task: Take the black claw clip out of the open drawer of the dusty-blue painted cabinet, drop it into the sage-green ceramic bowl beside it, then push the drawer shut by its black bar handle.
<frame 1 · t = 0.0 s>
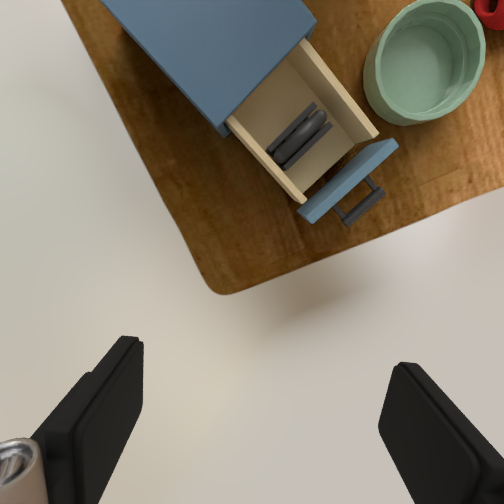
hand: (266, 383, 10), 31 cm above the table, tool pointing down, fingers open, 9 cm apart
clip: (293, 142, 36), point 2 cm above the table, touching drawer
bowl: (409, 74, 36), on the table
drawer: (312, 147, 34), point 4 cm above the table, slide at 13.5 cm, touching clip
cabinet: (212, 42, 35), on the table
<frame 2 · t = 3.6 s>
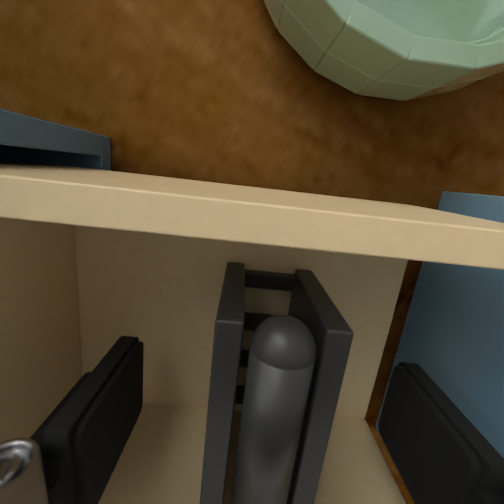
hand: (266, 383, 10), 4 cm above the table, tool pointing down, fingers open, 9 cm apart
clip: (259, 338, 12), point 2 cm above the table, touching drawer
drawer: (321, 359, 10), point 4 cm above the table, slide at 14.0 cm, touching clip, gripper
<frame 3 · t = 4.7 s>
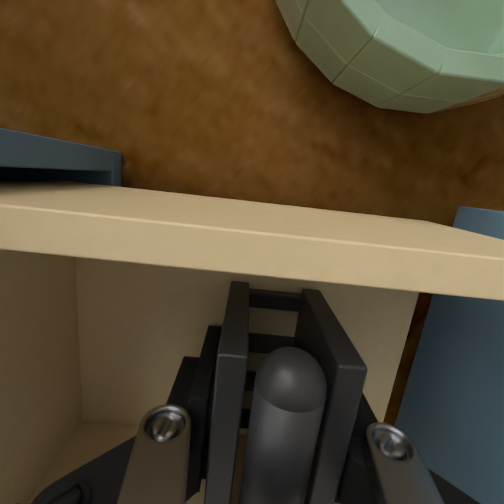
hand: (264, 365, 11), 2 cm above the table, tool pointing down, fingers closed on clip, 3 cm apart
clip: (264, 359, 12), point 2 cm above the table, touching gripper
drawer: (332, 387, 9), point 4 cm above the table, slide at 13.6 cm
when the fingers open (1 cm above the table, at t = 12.3 s): clip stays where it is, resting on bowl.
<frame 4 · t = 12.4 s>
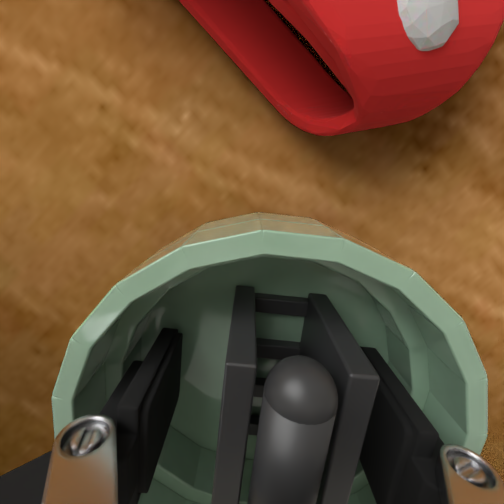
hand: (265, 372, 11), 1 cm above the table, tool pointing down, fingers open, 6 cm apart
clip: (269, 364, 12), point 1 cm above the table, touching bowl
bowl: (263, 355, 12), on the table
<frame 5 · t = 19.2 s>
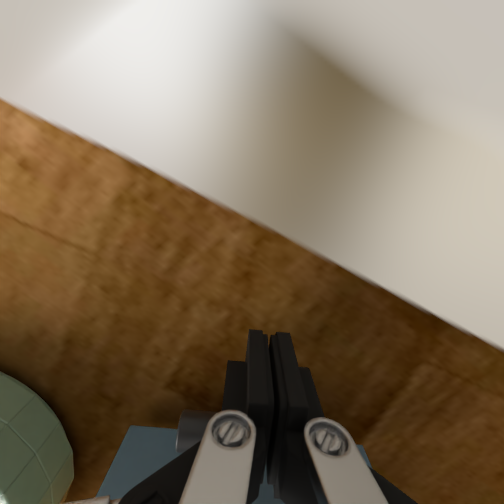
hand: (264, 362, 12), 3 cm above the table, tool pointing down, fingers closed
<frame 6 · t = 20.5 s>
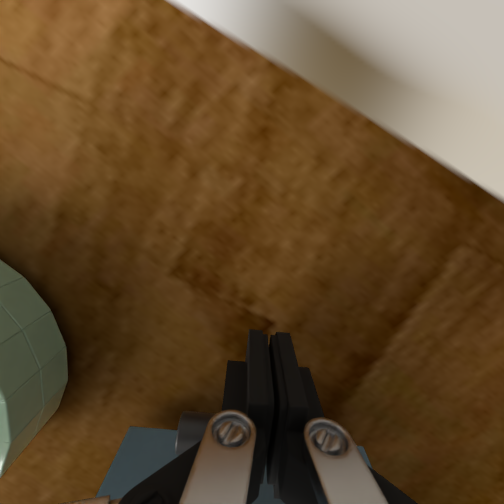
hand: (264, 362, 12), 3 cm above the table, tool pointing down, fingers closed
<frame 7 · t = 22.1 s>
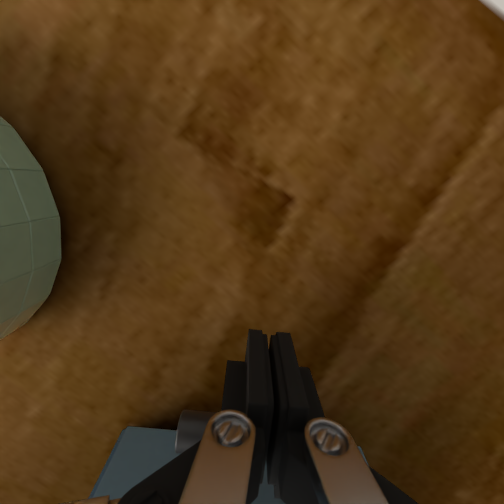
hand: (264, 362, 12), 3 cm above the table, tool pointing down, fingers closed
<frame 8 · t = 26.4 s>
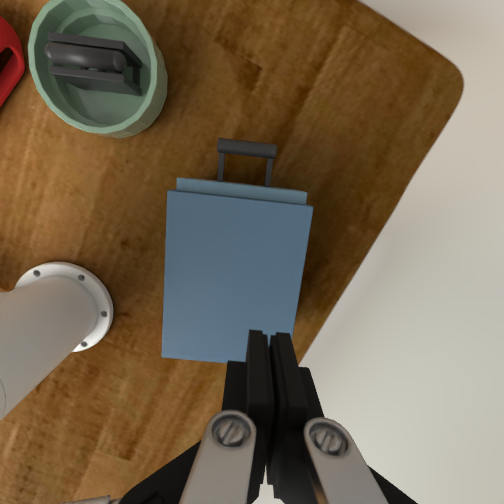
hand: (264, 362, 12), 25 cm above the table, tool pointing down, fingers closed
clip: (111, 75, 31), point 1 cm above the table, touching bowl
bowl: (113, 79, 31), on the table
drawer: (237, 240, 32), point 4 cm above the table, slide at 0.0 cm, touching cabinet
cabinet: (236, 262, 37), on the table
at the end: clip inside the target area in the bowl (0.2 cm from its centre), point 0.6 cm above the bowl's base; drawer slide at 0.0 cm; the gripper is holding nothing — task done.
